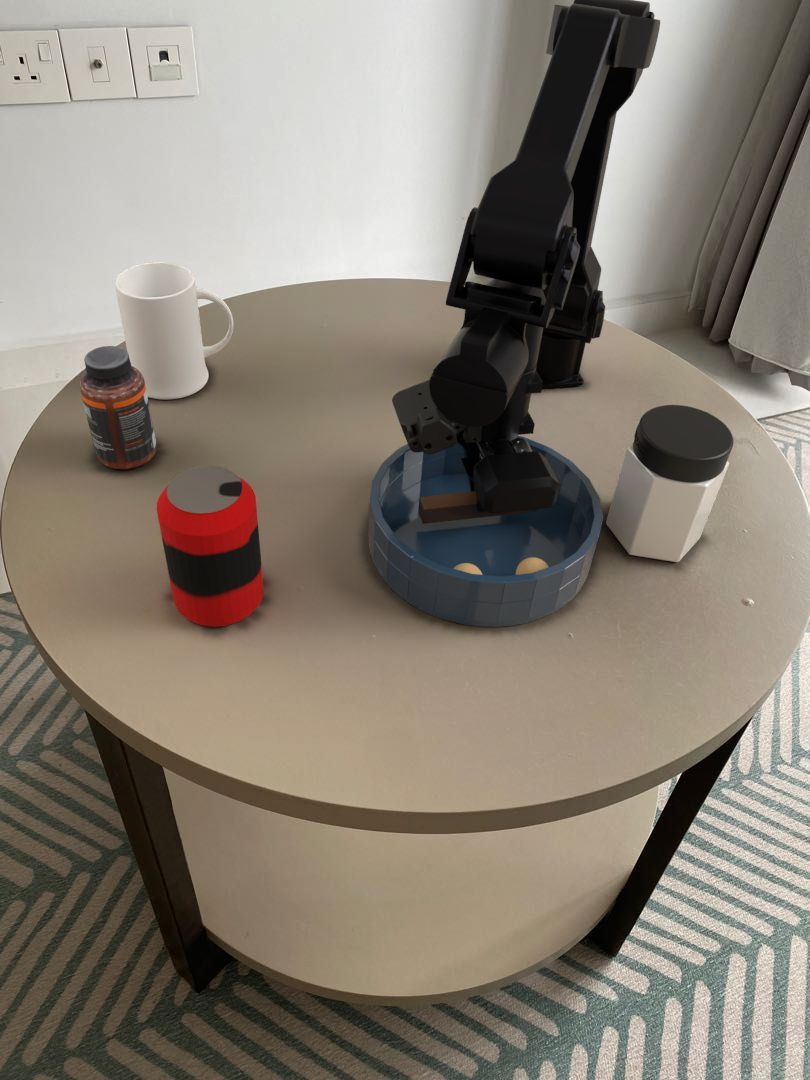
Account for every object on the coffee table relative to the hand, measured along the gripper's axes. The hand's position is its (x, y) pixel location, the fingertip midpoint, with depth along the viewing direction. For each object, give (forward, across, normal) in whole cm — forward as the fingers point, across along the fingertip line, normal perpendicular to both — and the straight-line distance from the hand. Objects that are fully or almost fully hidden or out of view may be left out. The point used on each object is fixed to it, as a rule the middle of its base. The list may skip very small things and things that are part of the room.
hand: (479, 503), depth 81 cm
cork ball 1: (+1, +9, -4) cm, 9 cm away
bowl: (+3, +2, 0) cm, 4 cm away
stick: (+1, 0, 0) cm, 1 cm away
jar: (+3, +3, +17) cm, 17 cm away
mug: (+3, -29, -26) cm, 39 cm away
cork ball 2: (+1, +9, +2) cm, 9 cm away
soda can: (+3, +5, -24) cm, 25 cm away
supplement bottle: (+3, -16, -32) cm, 36 cm away
